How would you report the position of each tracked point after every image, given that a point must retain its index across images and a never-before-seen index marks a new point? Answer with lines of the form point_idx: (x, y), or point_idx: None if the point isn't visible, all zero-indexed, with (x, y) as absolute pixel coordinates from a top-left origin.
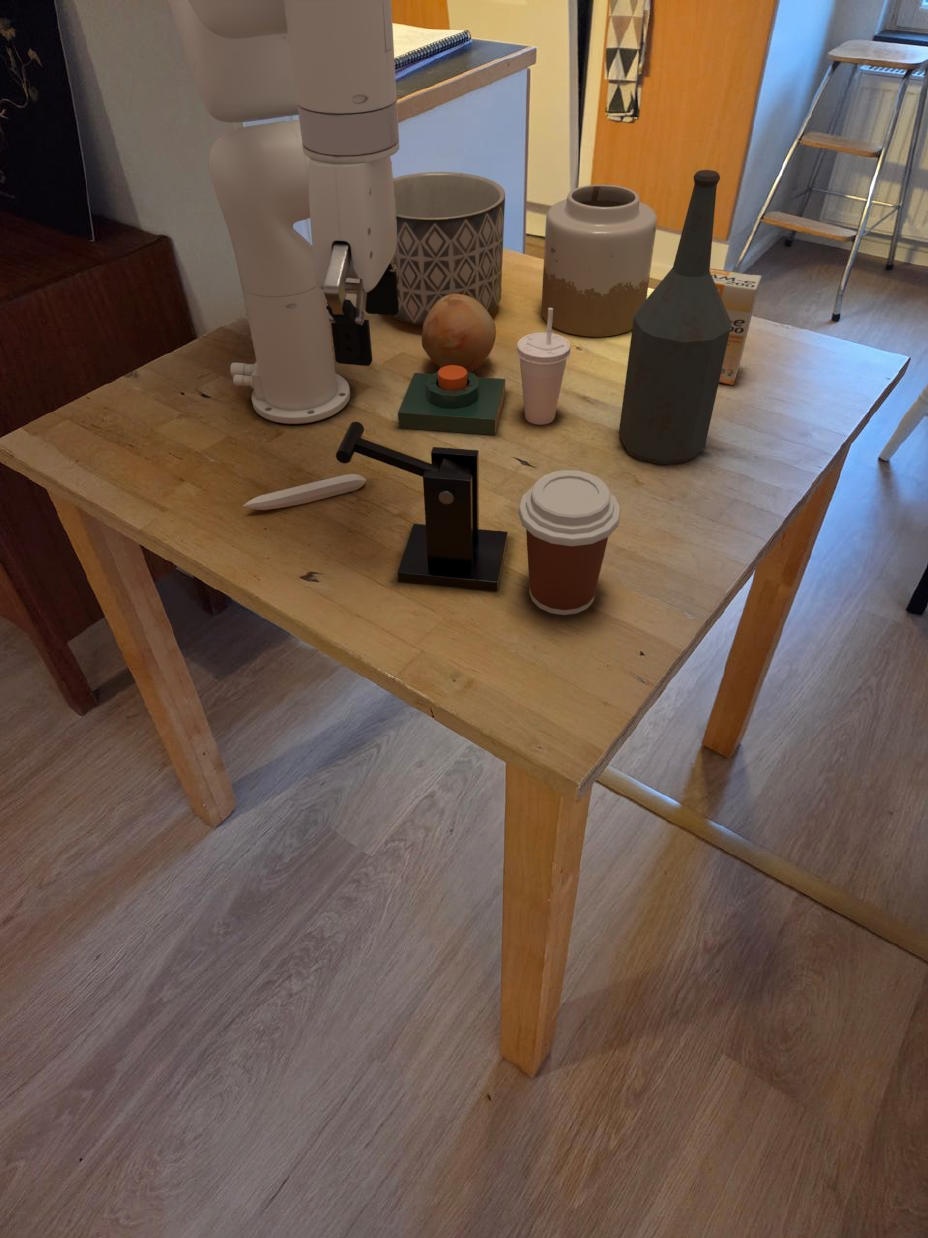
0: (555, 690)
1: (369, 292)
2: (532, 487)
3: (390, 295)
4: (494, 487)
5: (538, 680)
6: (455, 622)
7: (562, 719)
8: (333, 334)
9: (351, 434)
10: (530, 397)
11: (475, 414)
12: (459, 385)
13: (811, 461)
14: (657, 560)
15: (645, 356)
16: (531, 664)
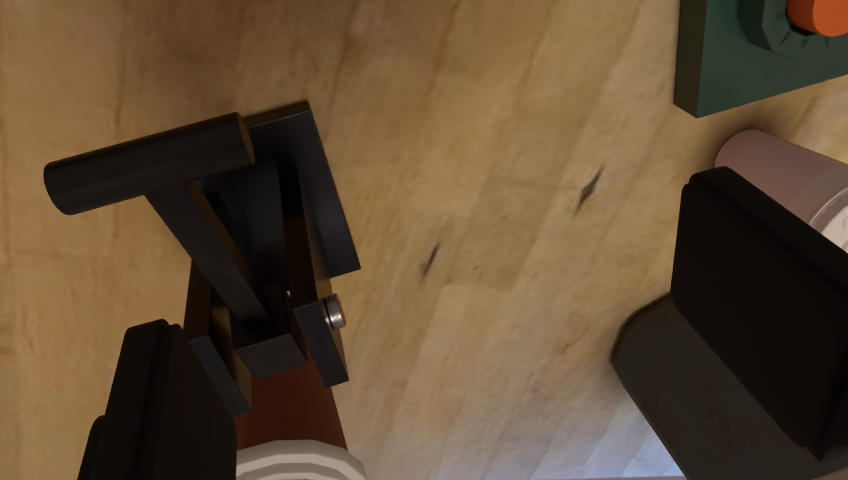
0: (77, 431)
1: (755, 270)
2: (308, 454)
3: (729, 354)
4: (501, 175)
5: (79, 411)
6: (112, 277)
7: (34, 455)
8: (100, 460)
9: (160, 178)
10: (754, 176)
11: (714, 71)
12: (800, 23)
13: (643, 468)
14: (396, 422)
15: (740, 467)
16: (102, 393)
